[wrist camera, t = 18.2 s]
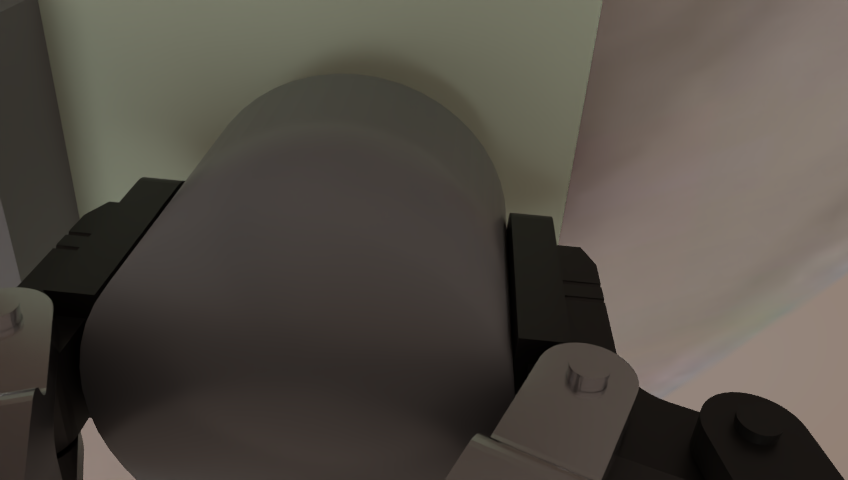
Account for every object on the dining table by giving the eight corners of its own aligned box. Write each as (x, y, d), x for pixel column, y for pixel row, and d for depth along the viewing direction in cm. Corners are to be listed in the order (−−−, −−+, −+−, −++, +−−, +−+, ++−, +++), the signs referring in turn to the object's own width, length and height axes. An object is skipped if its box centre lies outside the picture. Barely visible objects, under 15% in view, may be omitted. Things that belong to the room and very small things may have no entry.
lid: (-122, -266, 13) (-298, -280, 10) (630, -209, 13) (673, -206, 10) (36, 358, 21) (-41, 457, 18) (522, 405, 20) (528, 514, 17)
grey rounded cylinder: (214, 327, 16) (111, 531, 11) (190, 59, 13) (41, 197, 9) (488, 354, 16) (488, 571, 11) (525, 89, 13) (547, 245, 8)
